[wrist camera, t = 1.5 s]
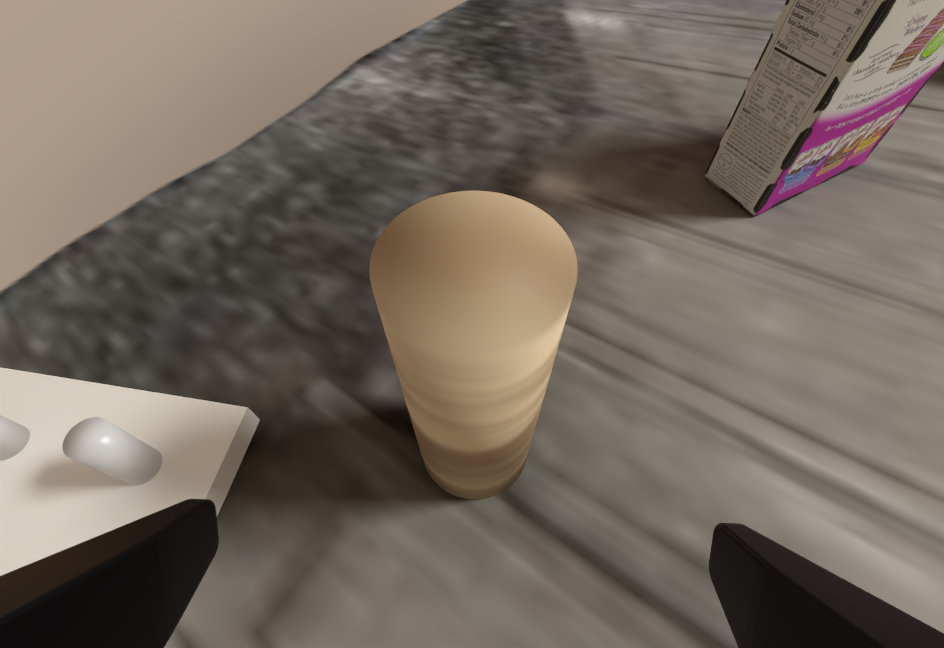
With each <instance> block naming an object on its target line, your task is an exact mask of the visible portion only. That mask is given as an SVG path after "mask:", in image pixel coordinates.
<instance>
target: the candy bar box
mask: <svg viewBox="0 0 944 648" xmlns="http://www.w3.org/2000/svg"><path fill="white" fill-rule="evenodd" d="M943 62H944V0H787V1H786V3H785V5H784V7H783V10H782V12H781V14H780V16H779V18H778V21H777V23H776V25H775V27H774V29H773V31H772V34H771V36H770V39H769V41H768V43H767V45H766V47H765V49H764V51H763V53H762V55H761V57H760V59H759V62H758V64H757V66H756V68H755V69H754V71H753V73H752V75H751V78H750V80H749V82H748V84H747V86H746V89H745V91H744V93H743V95H742V97H741V99H740V101H739V103H738V105H737V107H736V110H735V112H734V114H733V116H732V118H731V120H730V122H729V124H728V126H727V128H726V130H725V132H724V134H723V137H722V139H721V141H720V143H719V145H718V147H717V149H716V152H715V154H714V156H713V158H712V160H711V162H710V164H709V166H708V168H707V171H706V172H705V175H704V176H705V178H706V179H707V180H708V181H709V182H710V183H712V184H713V185H714V186H715V187H716V188H717V189H719V190H720V191H722V192H723V193H725V194H726V195H727V196H729V197H730V198H731V199H733V200H734V201H735V202H737V203H738V204H739V205H740V206H741V207H743V208H744V209H745V210H747V211H748V212H749V213H751V214H752V215H753V216H757V215H759V214H761V213H763V212H765V211H767V210H769V209H771V208H773V207H775V206H777V205H779V204H781V203H783V202H785V201H786V200H788V199H790V198H792V197H794V196H796V195H798V194H800V193H802V192H804V191H806V190H808V189H810V188H812V187H814V186H816V185H818V184H820V183H823V182H825V181H827V180H829V179H831V178H833V177H835V176H837V175H839V174H841V173H843V172H845V171H847V170H849V169H851V168H853V167H855V166H857V165H859V164H861V163H863V162H865V161H866V159H867V157H868V156H869V155H870V153H871V152H872V151H873V150H874V148H875V147H876V146H877V145H878V143H879V142H880V141H881V140H882V138H883V137H884V136H885V135H886V133H887V132H888V131H889V129H890V128H891V127H892V126H893V124H894V123H895V122H896V121H897V120H898V118H899V117H900V116H901V115H902V113H903V112H904V111H905V109H906V108H907V107H908V106H909V104H910V103H911V102H912V101H913V99H914V98H915V97H916V95H917V94H918V93H919V91H920V90H921V89H922V88H923V87H924V85H925V84H926V83H927V81H928V80H929V79H930V78H931V76H932V75H933V74H934V73H935V71H936V70H937V69H938V68H939V67H940V66H941V64H942V63H943Z"/></svg>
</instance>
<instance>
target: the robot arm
mask: <svg viewBox="0 0 944 648" xmlns="http://www.w3.org/2000/svg"><path fill="white" fill-rule="evenodd" d="M218 542H219V537H218V526H217V515H216V507H215V504H214V502H213V501H211V500H209V499H187V500H184V501H182V502H180V503H177V504H175V505H172V506H170V507H167V508H165V509H162V510H160V511H158V512H155V513H153V514H150V515H148V516H145V517H143V518H140V519H138V520H136V521H133V522H131V523H128V524H126V525H123V526H121V527H118V528H116V529H114V530H111V531H109V532H106V533H104V534H101V535H99V536H97V537H94V538H92V539H89V540H87V541H84V542H82V543H79V544H77V545H75V546H72V547H70V548H67V549H65V550H62V551H60V552H57V553H55V554H53V555H50V556H48V557H45V558H43V559H40V560H38V561H35V562H33V563H31V564H28V565H26V566H23V567H21V568H18V569H16V570H13V571H11V572H9V573H6V574H4V575H1V576H0V648H164V646H165V645H166V643H167V641H168V640H169V638H170V637H171V635H172V633H173V631H174V630H175V628H176V626H177V624H178V623H179V621H180V619H181V617H182V615H183V613H184V611H185V610H186V608H187V606H188V604H189V602H190V600H191V599H192V597H193V595H194V593H195V591H196V589H197V587H198V586H199V584H200V582H201V580H202V578H203V576H204V575H205V573H206V571H207V569H208V567H209V565H210V563H211V562H212V560H213V558H214V556H215V554H216V551H217V548H218ZM709 572H710V577H711V580H712V583H713V585H714V588H715V590H716V593H717V595H718V598H719V600H720V603H721V605H722V608H723V610H724V613H725V615H726V618H727V620H728V623H729V625H730V628H731V631H732V633H733V636H734V638H735V641H736V643H737V646H738V648H944V633H942V632H940V631H938V630H936V629H934V628H932V627H931V626H929V625H927V624H925V623H923V622H921V621H920V620H918V619H916V618H914V617H912V616H910V615H909V614H907V613H905V612H903V611H901V610H899V609H898V608H896V607H894V606H892V605H890V604H888V603H886V602H885V601H883V600H881V599H879V598H877V597H875V596H874V595H872V594H870V593H868V592H866V591H864V590H863V589H861V588H859V587H857V586H855V585H853V584H852V583H850V582H848V581H846V580H844V579H842V578H840V577H839V576H837V575H835V574H833V573H831V572H829V571H828V570H826V569H824V568H822V567H820V566H818V565H817V564H815V563H813V562H811V561H809V560H807V559H806V558H804V557H802V556H800V555H798V554H796V553H794V552H793V551H791V550H789V549H787V548H785V547H783V546H782V545H780V544H778V543H776V542H774V541H772V540H771V539H769V538H767V537H765V536H763V535H761V534H760V533H758V532H756V531H754V530H752V529H750V528H748V527H747V526H745V525H743V524H736V523H719V524H717V525H716V527H715V529H714V532H713V539H712V546H711V553H710V560H709Z"/></svg>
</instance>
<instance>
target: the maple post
mask: <svg viewBox="0 0 944 648" xmlns="http://www.w3.org/2000/svg"><path fill="white" fill-rule="evenodd" d="M369 270H370V281H371V285H372V290H373V293H374V296H375V300H376V303H377V307H378V310H379V313H380V317H381V320H382V323H383V327H384V330H385V334H386V337H387V340H388V344H389V347H390V350H391V354H392V357H393V361H394V364H395V367H396V371H397V374H398V378H399V381H400V384H401V388H402V391H403V394H404V398H405V401H406V405H407V408H408V411H409V415H410V418H411V422H412V425H413V428H414V432H415V435H416V438H417V442H418V445H419V449H420V452H421V455H422V459H423V462H424V465H425V467H426V470H427V472H428V473H429V475H430V477H431V478H432V479H433V481H434V482H435V483H436V484H437V485H438V486H439V487H441V488H442V489H443V490H445V491H446V492H448V493H450V494H452V495H454V496H457V497H460V498H464V499H485V498H489V497H492V496H495V495H497V494H499V493H501V492H503V491H504V490H506V489H507V488H508V487H510V486H511V485H512V484H513V483H514V482H515V481H516V479H517V478H518V477H519V475H520V474H521V472H522V470H523V468H524V465H525V462H526V459H527V455H528V452H529V448H530V445H531V441H532V437H533V434H534V430H535V427H536V423H537V420H538V416H539V413H540V409H541V406H542V402H543V399H544V395H545V392H546V388H547V384H548V381H549V377H550V374H551V370H552V367H553V363H554V360H555V356H556V353H557V349H558V346H559V342H560V339H561V335H562V331H563V328H564V324H565V321H566V317H567V314H568V310H569V307H570V303H571V300H572V296H573V293H574V289H575V286H576V280H577V274H578V271H577V259H576V254H575V251H574V248H573V245H572V243H571V241H570V239H569V238H568V236H567V234H566V233H565V231H564V230H563V229H562V227H561V226H560V225H559V224H558V223H557V222H556V221H555V220H554V219H553V218H552V217H551V216H549V215H548V214H547V213H545V212H544V211H543V210H541V209H539V208H538V207H536V206H534V205H533V204H530V203H528V202H526V201H524V200H522V199H519V198H516V197H513V196H509V195H505V194H501V193H496V192H489V191H460V192H452V193H447V194H442V195H438V196H435V197H432V198H429V199H426V200H424V201H422V202H419V203H417V204H415V205H413V206H412V207H410V208H408V209H407V210H405V211H404V212H402V213H401V214H399V215H398V216H397V217H396V218H395V219H394V220H392V221H391V222H390V224H389V225H388V226H387V227H386V228H385V229H384V230H383V232H382V233H381V235H380V236H379V238H378V240H377V242H376V244H375V246H374V248H373V252H372V255H371V259H370V268H369Z"/></svg>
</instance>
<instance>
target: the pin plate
mask: <svg viewBox="0 0 944 648" xmlns="http://www.w3.org/2000/svg"><path fill="white" fill-rule="evenodd" d="M259 421H260V419H259V418H258V417H257V416H256V415H255V414H254V413H253V412H252V411H251V410H250V409H249V408H248V407H242V406H236V405H230V404H223V403H217V402H211V401H205V400H199V399H192V398H186V397H180V396H174V395H168V394H161V393H155V392H149V391H143V390H136V389H130V388H124V387H118V386H112V385H105V384H99V383H93V382H87V381H81V380H74V379H68V378H62V377H56V376H49V375H43V374H37V373H31V372H25V371H18V370H12V369H6V368H0V576H1V575H4V574H6V573H9V572H11V571H13V570H16V569H18V568H21V567H23V566H26V565H28V564H31V563H33V562H35V561H38V560H40V559H43V558H45V557H48V556H50V555H53V554H55V553H57V552H60V551H62V550H65V549H67V548H70V547H72V546H75V545H77V544H79V543H82V542H84V541H87V540H89V539H92V538H94V537H97V536H99V535H101V534H104V533H106V532H109V531H111V530H114V529H116V528H118V527H121V526H123V525H126V524H128V523H131V522H133V521H136V520H138V519H140V518H143V517H145V516H148V515H150V514H153V513H155V512H158V511H160V510H162V509H165V508H167V507H170V506H172V505H175V504H177V503H180V502H182V501H184V500H187V499H209V500H211V501H213V502H214V504H215V507H216V515H217V516H218V514H219V512H220V510H221V507H222V505H223V503H224V501H225V498H226V496H227V494H228V491H229V489H230V487H231V485H232V482H233V480H234V478H235V476H236V473H237V471H238V469H239V467H240V464H241V462H242V460H243V457H244V455H245V453H246V451H247V448H248V446H249V444H250V442H251V439H252V437H253V435H254V433H255V430H256V428H257V426H258V423H259Z"/></svg>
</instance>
